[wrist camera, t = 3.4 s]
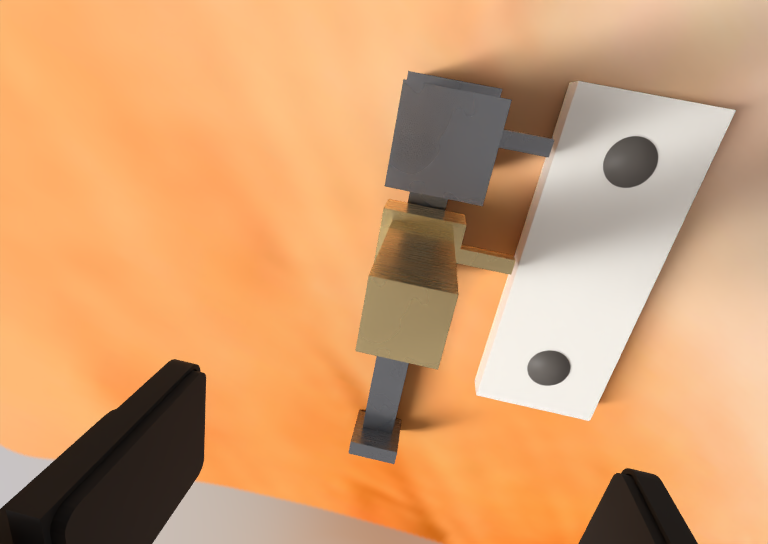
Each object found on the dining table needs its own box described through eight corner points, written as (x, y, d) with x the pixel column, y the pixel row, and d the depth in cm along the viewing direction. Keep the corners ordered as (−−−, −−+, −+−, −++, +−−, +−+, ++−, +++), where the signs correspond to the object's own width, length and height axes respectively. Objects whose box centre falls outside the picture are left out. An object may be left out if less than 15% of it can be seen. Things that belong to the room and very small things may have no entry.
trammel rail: (414, 75, 22) (389, 55, 12) (552, 101, 21) (649, 104, 11) (350, 419, 30) (305, 575, 20) (447, 442, 30) (449, 612, 20)
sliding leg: (388, 199, 22) (356, 258, 14) (522, 226, 22) (570, 304, 14) (375, 268, 24) (340, 359, 16) (500, 295, 23) (531, 403, 15)
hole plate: (569, 82, 21) (579, 80, 19) (716, 109, 20) (736, 110, 19) (474, 380, 28) (476, 395, 26) (582, 404, 27) (590, 421, 26)
